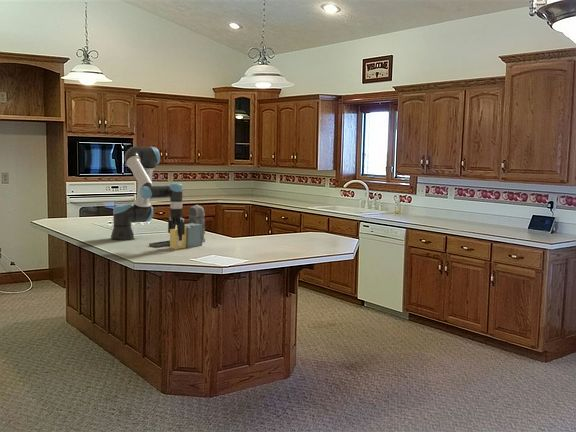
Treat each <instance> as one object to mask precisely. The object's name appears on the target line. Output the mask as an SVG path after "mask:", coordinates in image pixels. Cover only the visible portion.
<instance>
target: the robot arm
mask: <svg viewBox="0 0 576 432" xmlns="http://www.w3.org/2000/svg"><path fill="white" fill-rule="evenodd" d="M124 163H125V165H126V166H127V167H128V168H129V169H130V170H131V172H132V174H133V176H134V178H135V179H136V181H137V185H138V186H137V191H136V192H137V194H136V199H135V200H134V202H133V205H132V204H130V203H123V204H122V203H121V204H117V205H114V206H113V209H112V210H113V212H112V214H113V215H112V217H113V221H112V222H113V229H112V231H111V235H110V239H111V240H113V241H114V240H115V241H128V240H133V239H134V238H135V235H134V232H133V229H132V223H135V224H136V223H146V222H147V223H148V222H150V221H151V220H152V219H153V216H154V207H153V205H152V204H151V202H150V199H169V202H170V203H169V207H170V209H169V214H170V216H169V217H167V224H168V225H167V228H168V229H167V233H168V234H170V229H175V228H177V230H178V236H177V246H182V235H184V234H185V224H186V223H185V222H186V219H185V218H183V217H182V215H183V191H184V190H183V184H182V183H175V182H174V183H170V185H154V184H153V182H152V181H153V173H154V170H155V169H156V166H157V165H159V164H160V163H161V154H160V151H159V149H158V148H157V147H156V146H131V147H130V148H128V149H127V150H126V153H124Z"/></svg>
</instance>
